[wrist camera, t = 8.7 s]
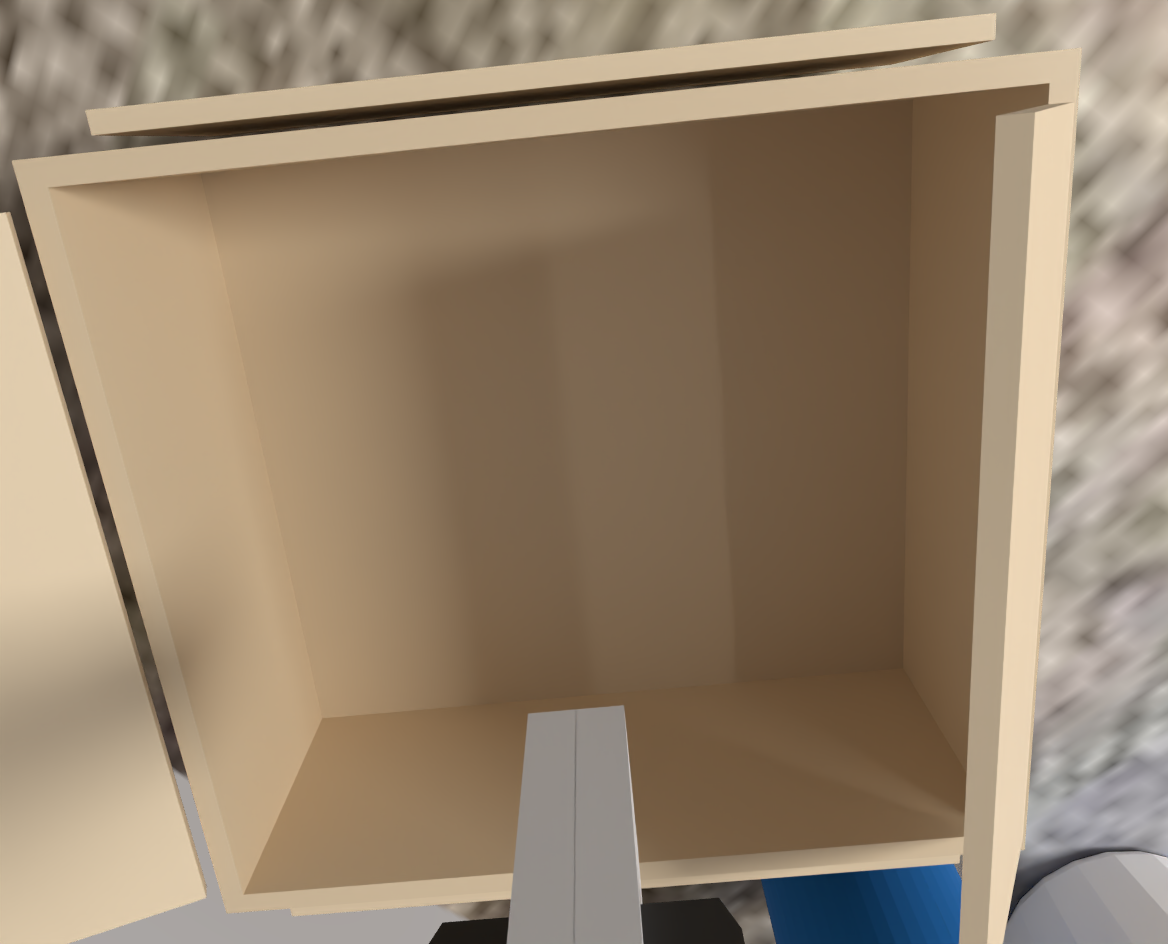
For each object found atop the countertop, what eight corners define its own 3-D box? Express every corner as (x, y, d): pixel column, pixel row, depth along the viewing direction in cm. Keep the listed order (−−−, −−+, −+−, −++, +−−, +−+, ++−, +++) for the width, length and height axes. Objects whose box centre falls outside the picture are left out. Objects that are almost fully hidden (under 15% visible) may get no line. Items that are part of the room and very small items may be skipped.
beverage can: (820, 908, 38) (922, 1238, 26) (713, 812, 36) (772, 1120, 25) (951, 816, 36) (1118, 1124, 25) (845, 712, 35) (972, 991, 23)
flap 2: (1022, 837, 25) (980, 1061, 19) (1002, 832, 25) (953, 1051, 19) (1074, 101, 19) (1034, 112, 13) (1046, 104, 19) (995, 116, 13)
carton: (177, 123, 28) (-1, 117, 19) (927, 44, 27) (1084, 1, 19) (318, 743, 35) (233, 937, 27) (913, 692, 34) (1023, 874, 26)
